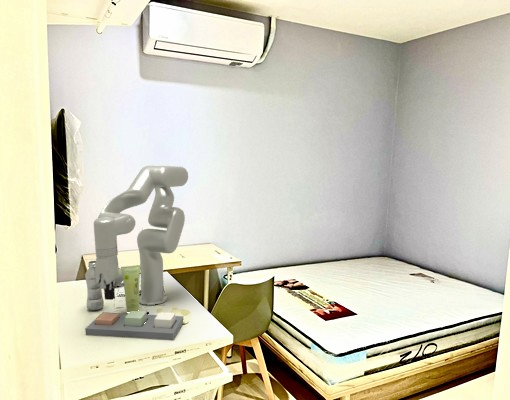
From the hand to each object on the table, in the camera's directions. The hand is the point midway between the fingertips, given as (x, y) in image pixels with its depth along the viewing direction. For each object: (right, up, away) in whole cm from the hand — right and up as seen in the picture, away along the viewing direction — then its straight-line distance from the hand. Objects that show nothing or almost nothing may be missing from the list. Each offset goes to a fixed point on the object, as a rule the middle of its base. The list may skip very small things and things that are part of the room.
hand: (109, 298), depth 153 cm
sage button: (+10, -9, -1) cm, 14 cm away
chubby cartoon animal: (-10, -4, +44) cm, 45 cm away
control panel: (+10, -11, -1) cm, 15 cm away
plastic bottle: (-12, -8, +16) cm, 22 cm away
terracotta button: (-1, -10, 0) cm, 10 cm away
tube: (+4, -9, +14) cm, 17 cm away
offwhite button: (+21, -9, -2) cm, 23 cm away
